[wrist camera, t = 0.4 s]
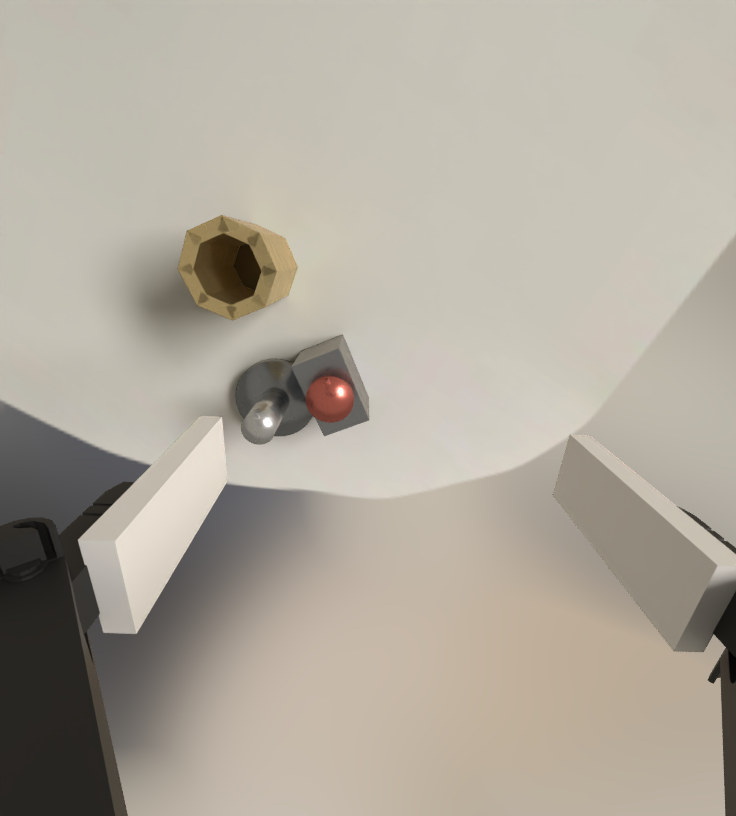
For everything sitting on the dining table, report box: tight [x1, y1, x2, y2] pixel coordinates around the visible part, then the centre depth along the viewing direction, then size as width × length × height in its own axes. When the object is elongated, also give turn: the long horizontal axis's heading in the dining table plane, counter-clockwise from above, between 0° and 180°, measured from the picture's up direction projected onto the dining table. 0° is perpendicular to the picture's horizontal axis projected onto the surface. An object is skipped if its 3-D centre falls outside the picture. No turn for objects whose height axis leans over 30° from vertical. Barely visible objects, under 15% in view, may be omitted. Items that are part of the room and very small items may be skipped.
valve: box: [236, 335, 369, 444], centre depth 36 cm, size 8×13×8 cm, turn 111°
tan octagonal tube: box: [178, 215, 298, 320], centre depth 31 cm, size 6×6×9 cm
